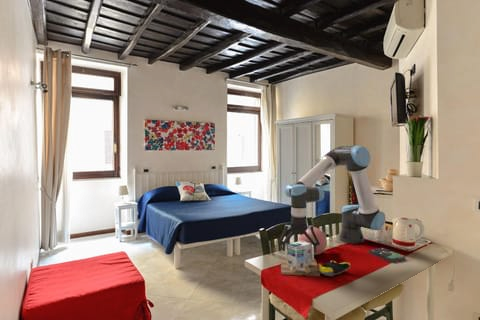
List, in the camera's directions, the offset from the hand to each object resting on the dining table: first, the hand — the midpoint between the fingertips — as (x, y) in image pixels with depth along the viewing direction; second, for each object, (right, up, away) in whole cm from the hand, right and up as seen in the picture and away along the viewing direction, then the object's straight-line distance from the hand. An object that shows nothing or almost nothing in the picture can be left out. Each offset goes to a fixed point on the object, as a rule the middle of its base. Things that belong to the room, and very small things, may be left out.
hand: (299, 258), depth 139 cm
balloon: (+14, -5, +20) cm, 24 cm away
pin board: (0, -5, 0) cm, 5 cm away
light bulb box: (0, -4, 0) cm, 4 cm away
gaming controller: (+15, -5, -7) cm, 17 cm away
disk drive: (+51, -5, +14) cm, 53 cm away
